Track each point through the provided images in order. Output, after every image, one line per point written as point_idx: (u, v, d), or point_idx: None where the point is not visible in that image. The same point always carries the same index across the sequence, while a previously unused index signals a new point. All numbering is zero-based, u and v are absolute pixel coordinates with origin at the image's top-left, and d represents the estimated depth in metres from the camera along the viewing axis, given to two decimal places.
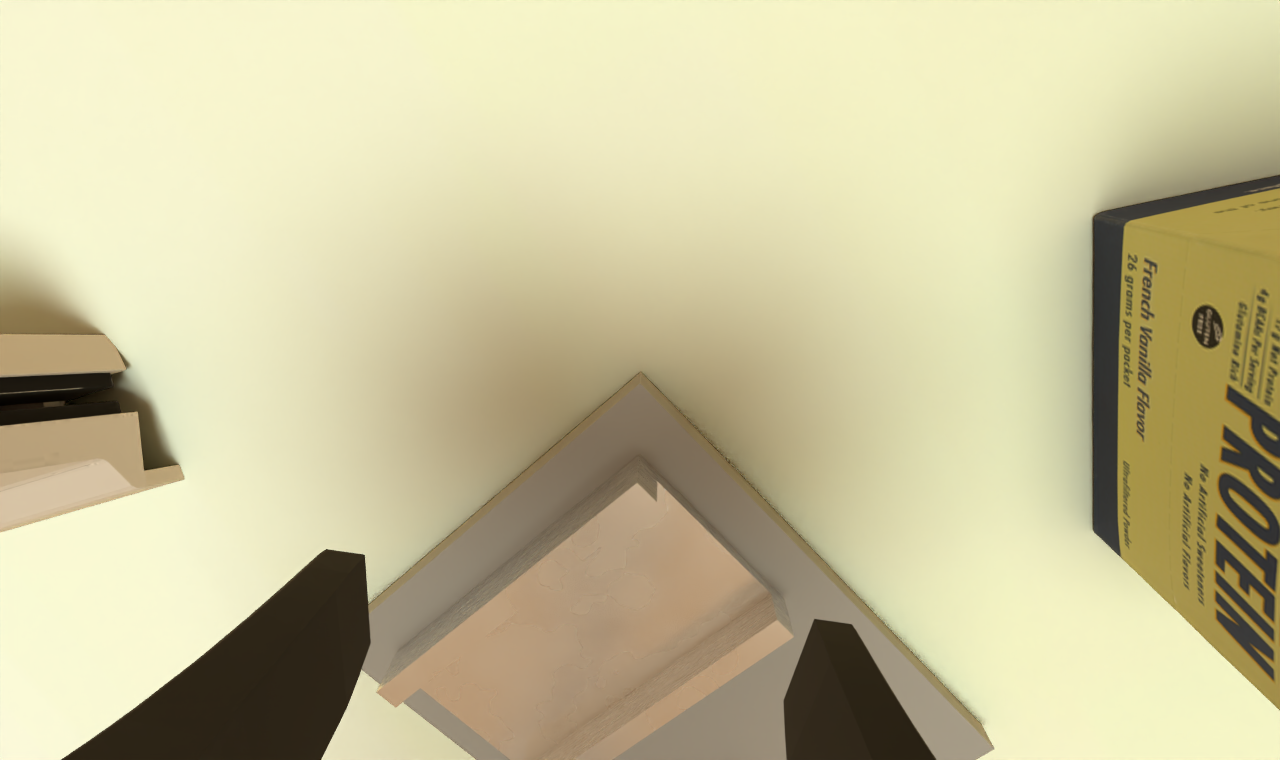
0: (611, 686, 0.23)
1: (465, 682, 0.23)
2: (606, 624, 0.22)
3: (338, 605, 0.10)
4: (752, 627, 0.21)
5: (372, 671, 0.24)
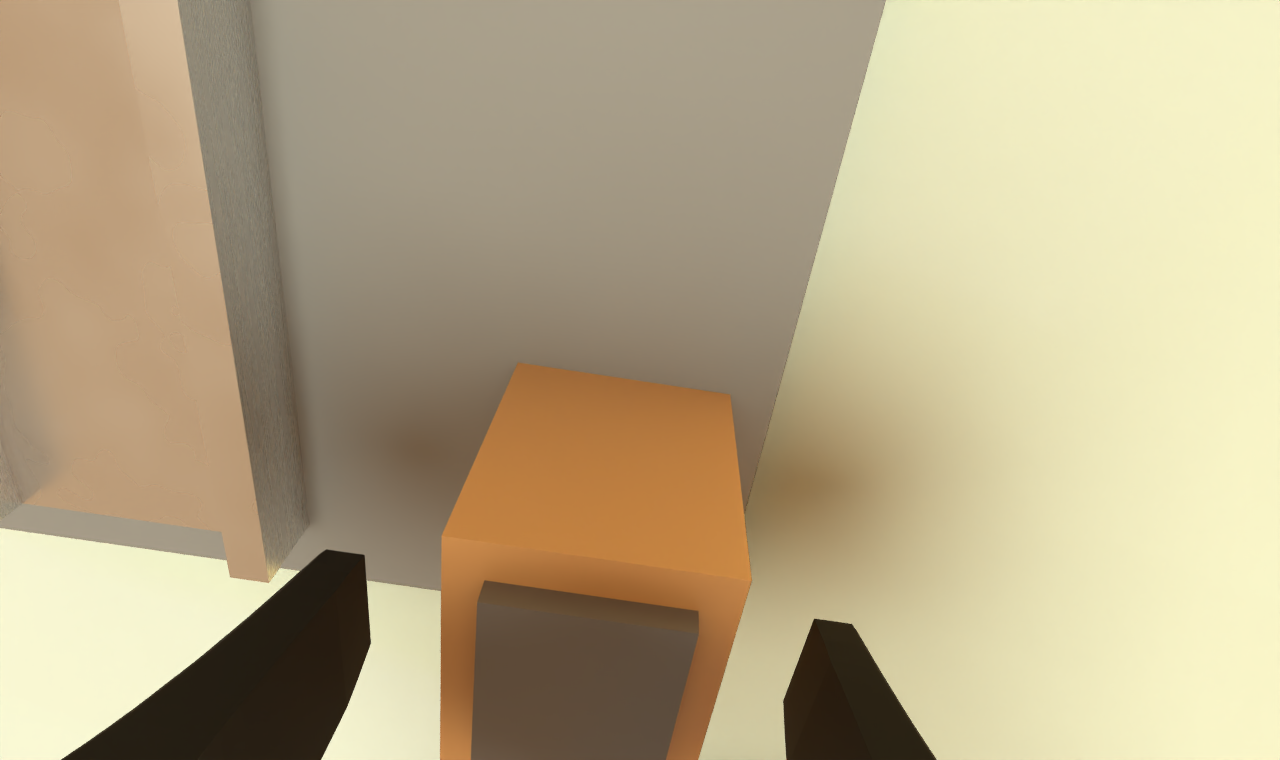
0: None
1: (69, 464, 0.15)
2: (74, 241, 0.12)
3: (338, 605, 0.10)
4: (143, 33, 0.10)
5: (25, 525, 0.17)
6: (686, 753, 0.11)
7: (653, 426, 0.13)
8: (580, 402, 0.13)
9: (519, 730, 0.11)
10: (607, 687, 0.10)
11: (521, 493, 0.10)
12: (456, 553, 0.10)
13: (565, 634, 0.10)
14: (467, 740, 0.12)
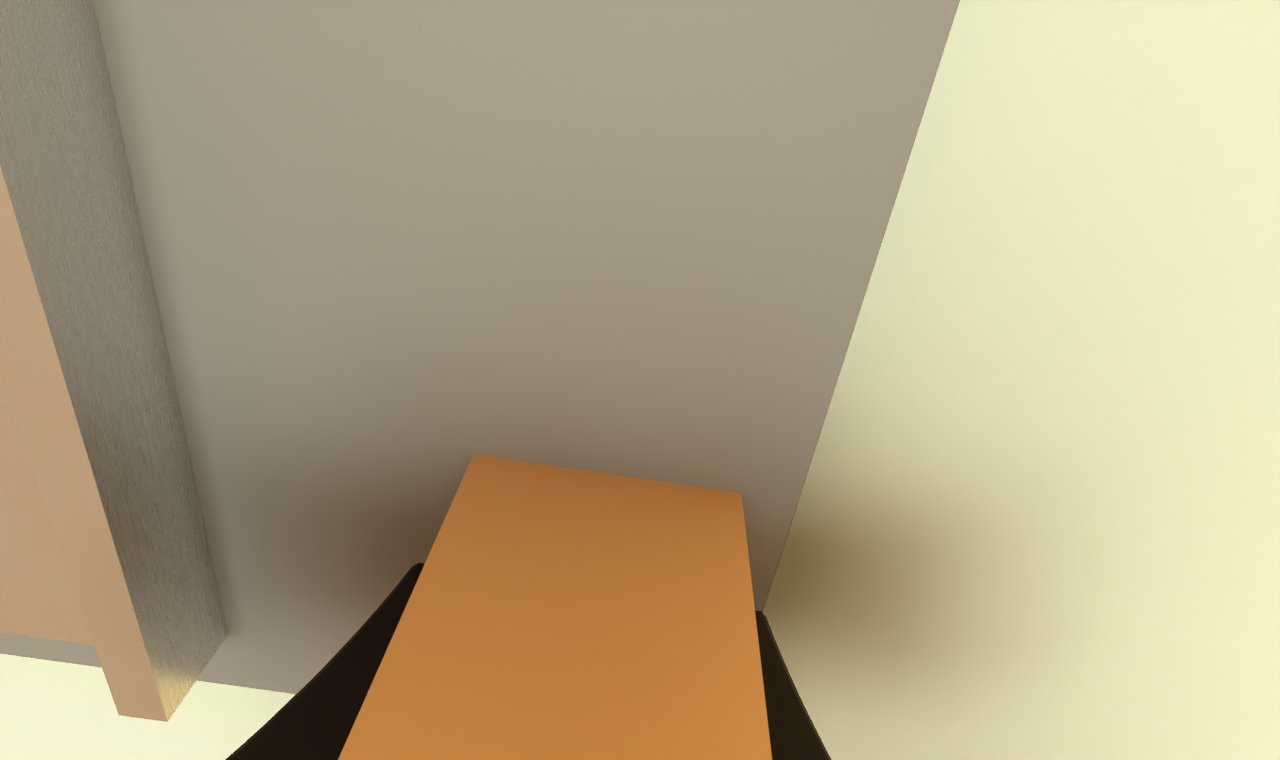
0: None
1: None
2: None
3: None
4: None
5: None
6: None
7: (643, 549, 0.10)
8: (550, 513, 0.10)
9: None
10: None
11: (459, 676, 0.08)
12: None
13: None
14: None
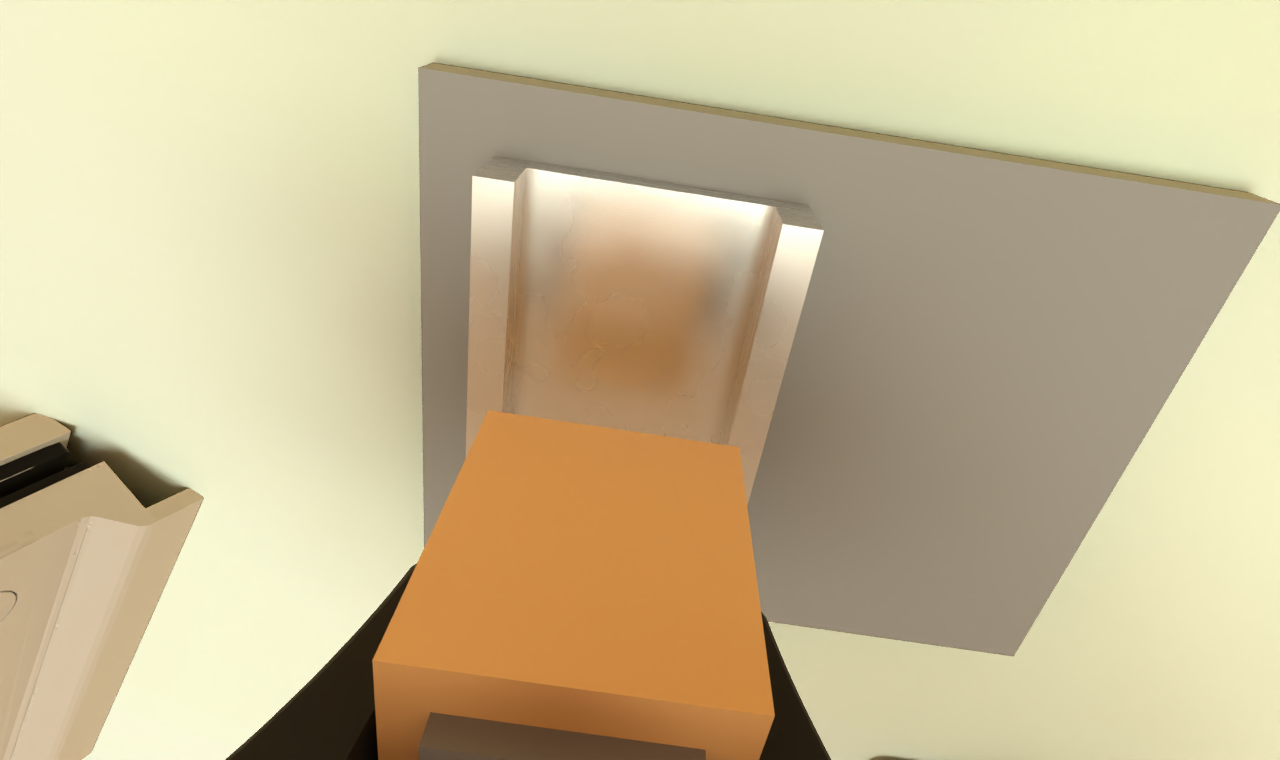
0: None
1: None
2: (627, 379, 0.17)
3: None
4: (770, 259, 0.14)
5: None
6: None
7: (648, 492, 0.10)
8: (560, 461, 0.11)
9: None
10: None
11: (481, 592, 0.08)
12: (393, 681, 0.07)
13: None
14: None
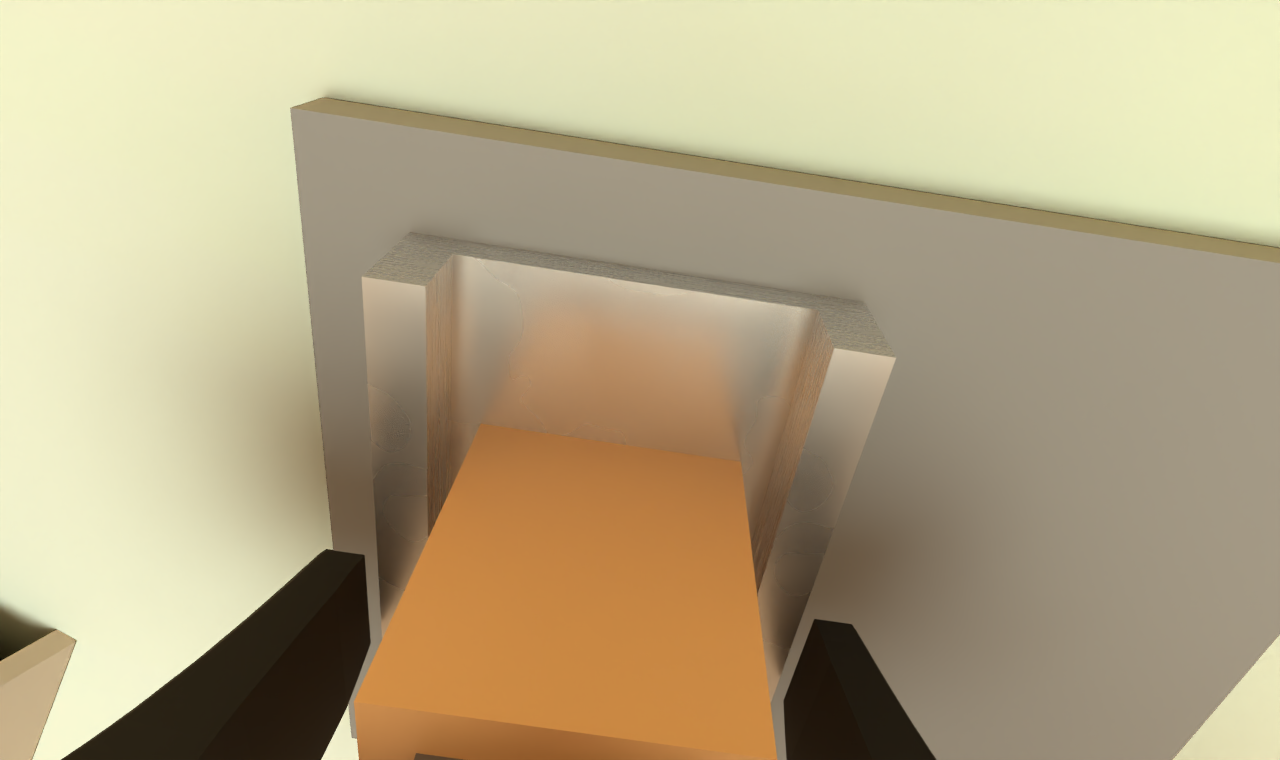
0: None
1: None
2: None
3: (338, 605, 0.10)
4: (811, 391, 0.10)
5: None
6: None
7: (646, 512, 0.10)
8: (555, 478, 0.10)
9: None
10: None
11: (469, 624, 0.08)
12: (375, 722, 0.07)
13: None
14: None
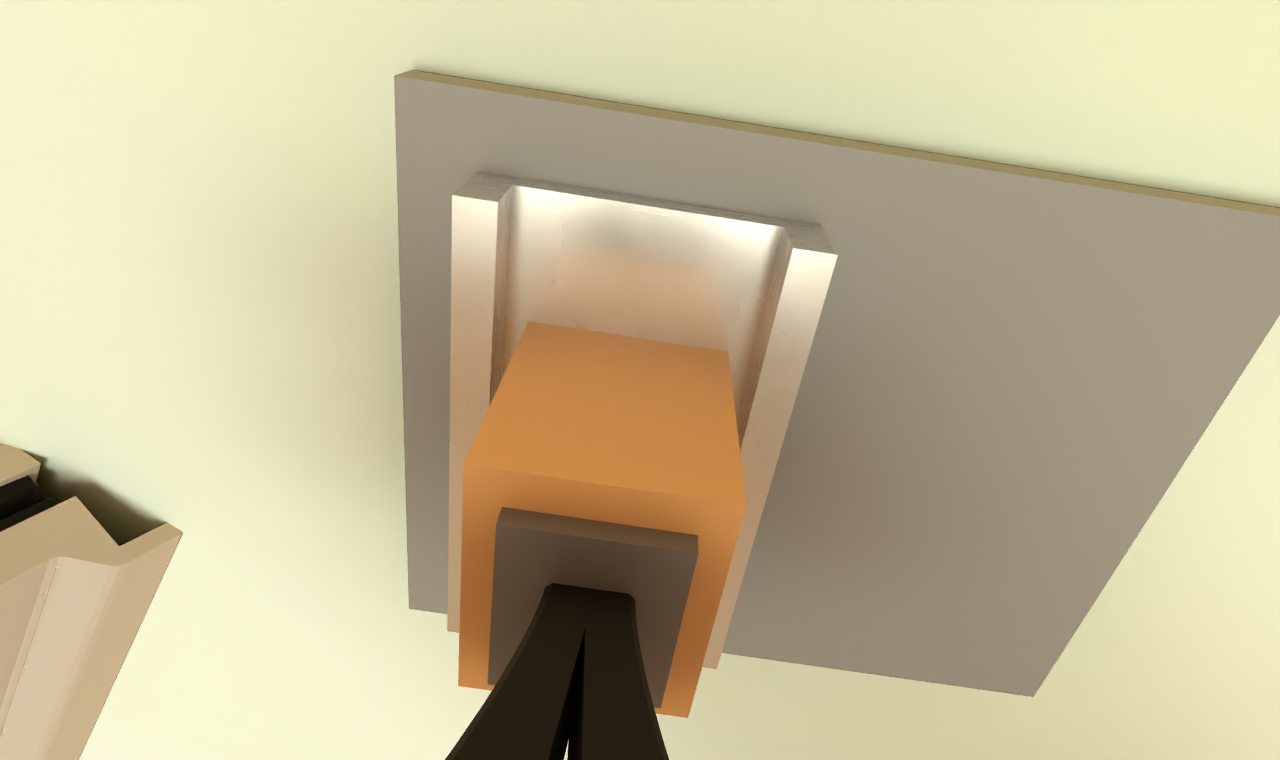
0: None
1: None
2: None
3: (583, 639, 0.10)
4: (778, 285, 0.13)
5: None
6: (686, 675, 0.12)
7: (656, 377, 0.13)
8: (587, 355, 0.14)
9: None
10: None
11: (534, 430, 0.11)
12: (476, 480, 0.10)
13: (575, 555, 0.11)
14: (484, 665, 0.13)
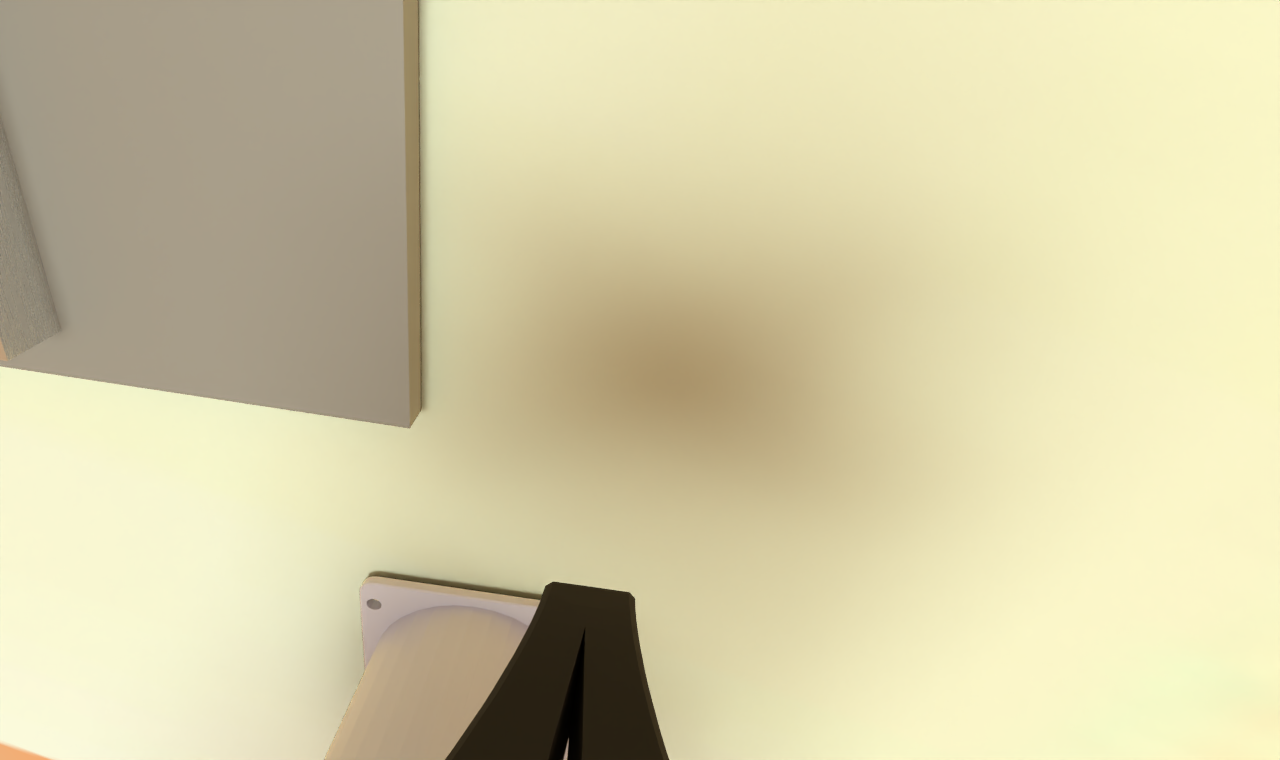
0: None
1: None
2: None
3: None
4: None
5: None
6: None
7: None
8: None
9: None
10: None
11: None
12: None
13: None
14: None
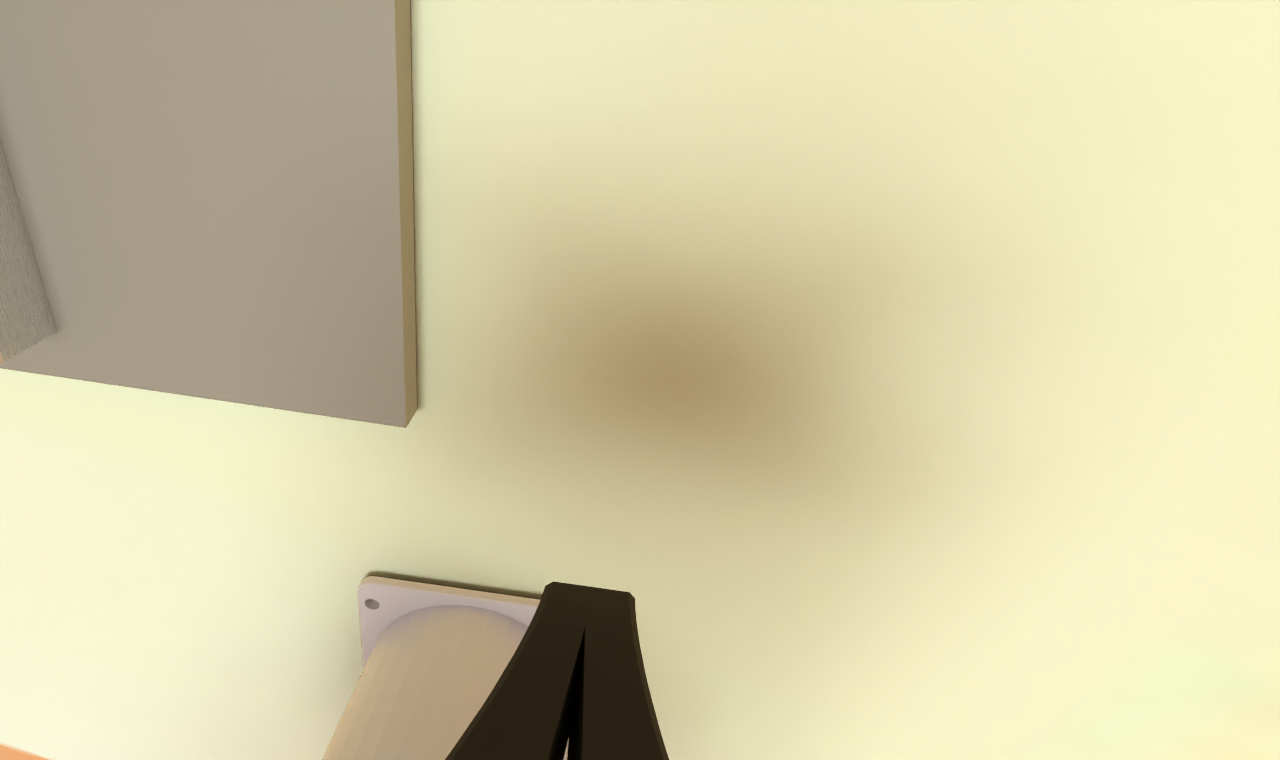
0: None
1: None
2: None
3: None
4: None
5: None
6: None
7: None
8: None
9: None
10: None
11: None
12: None
13: None
14: None
